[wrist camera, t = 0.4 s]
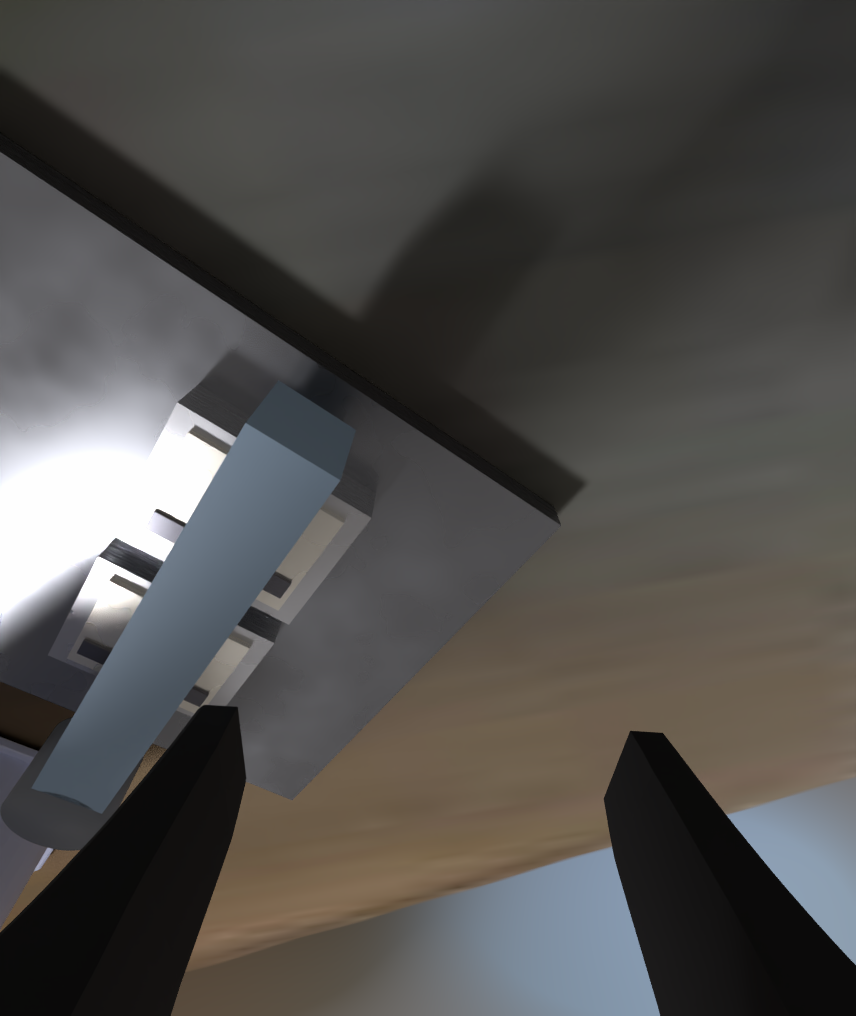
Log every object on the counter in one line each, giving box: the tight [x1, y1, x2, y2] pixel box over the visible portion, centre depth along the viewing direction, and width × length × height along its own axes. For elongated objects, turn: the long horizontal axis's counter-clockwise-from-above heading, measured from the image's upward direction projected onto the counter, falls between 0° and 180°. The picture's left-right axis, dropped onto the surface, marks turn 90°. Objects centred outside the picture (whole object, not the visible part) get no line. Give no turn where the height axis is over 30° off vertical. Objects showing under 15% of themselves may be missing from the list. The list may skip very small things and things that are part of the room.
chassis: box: [0, 133, 561, 800], centre depth 19 cm, size 18×19×3 cm
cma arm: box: [0, 380, 356, 850], centre depth 16 cm, size 17×3×3 cm, turn 145°
